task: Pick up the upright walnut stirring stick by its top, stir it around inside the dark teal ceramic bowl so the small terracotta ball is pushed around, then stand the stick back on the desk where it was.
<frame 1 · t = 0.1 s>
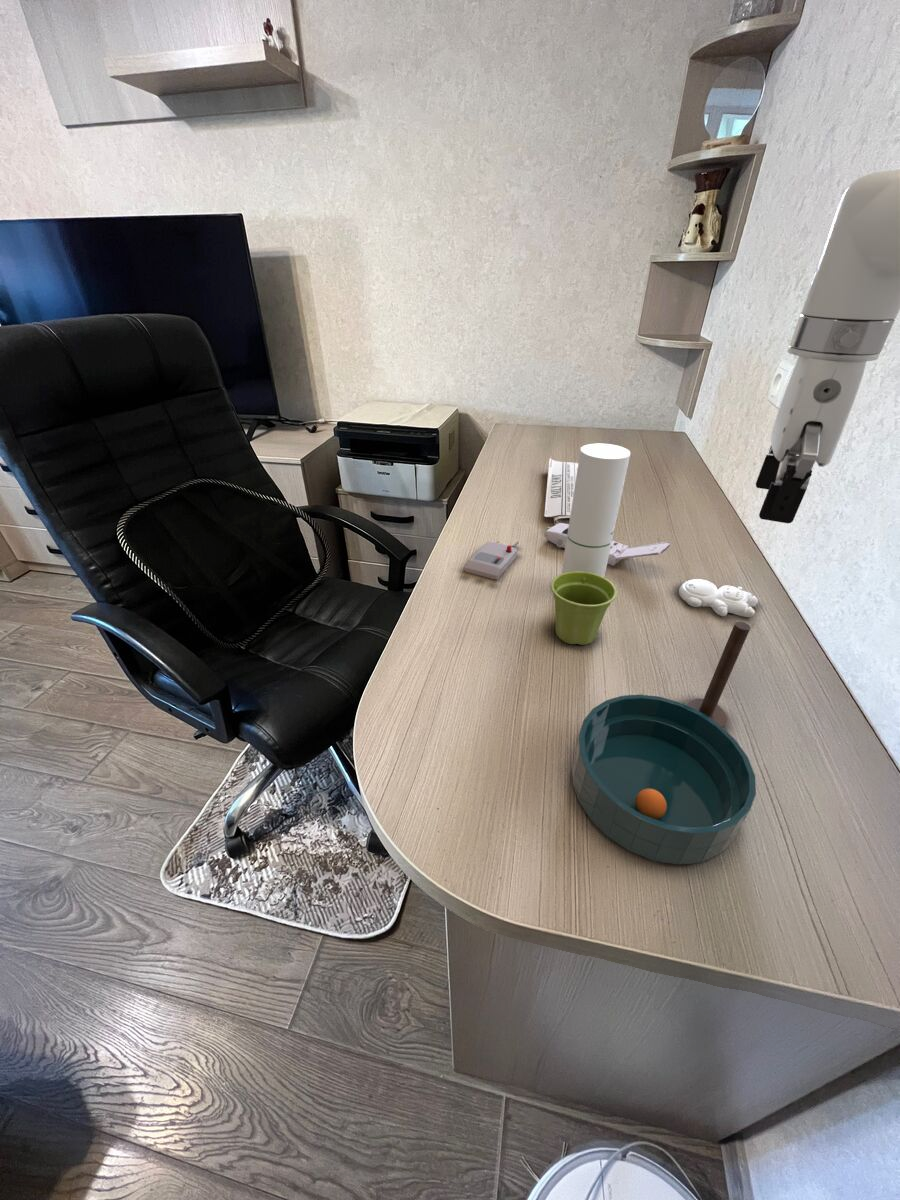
hand: (771, 503, 58), 25 cm above the table, tool pointing down, fingers open, 9 cm apart
white toy figurine: (716, 602, 86), on the table
stirring stick: (703, 716, 64), on the table
mobile phone: (596, 554, 99), on the table
plant pot: (574, 634, 78), on the table
bowl: (650, 789, 55), on the table
newspaper: (568, 497, 123), on the table
cylindrical container: (579, 592, 88), on the table
ball: (650, 804, 52), point 2 cm above the table, touching bowl
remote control: (493, 562, 97), on the table
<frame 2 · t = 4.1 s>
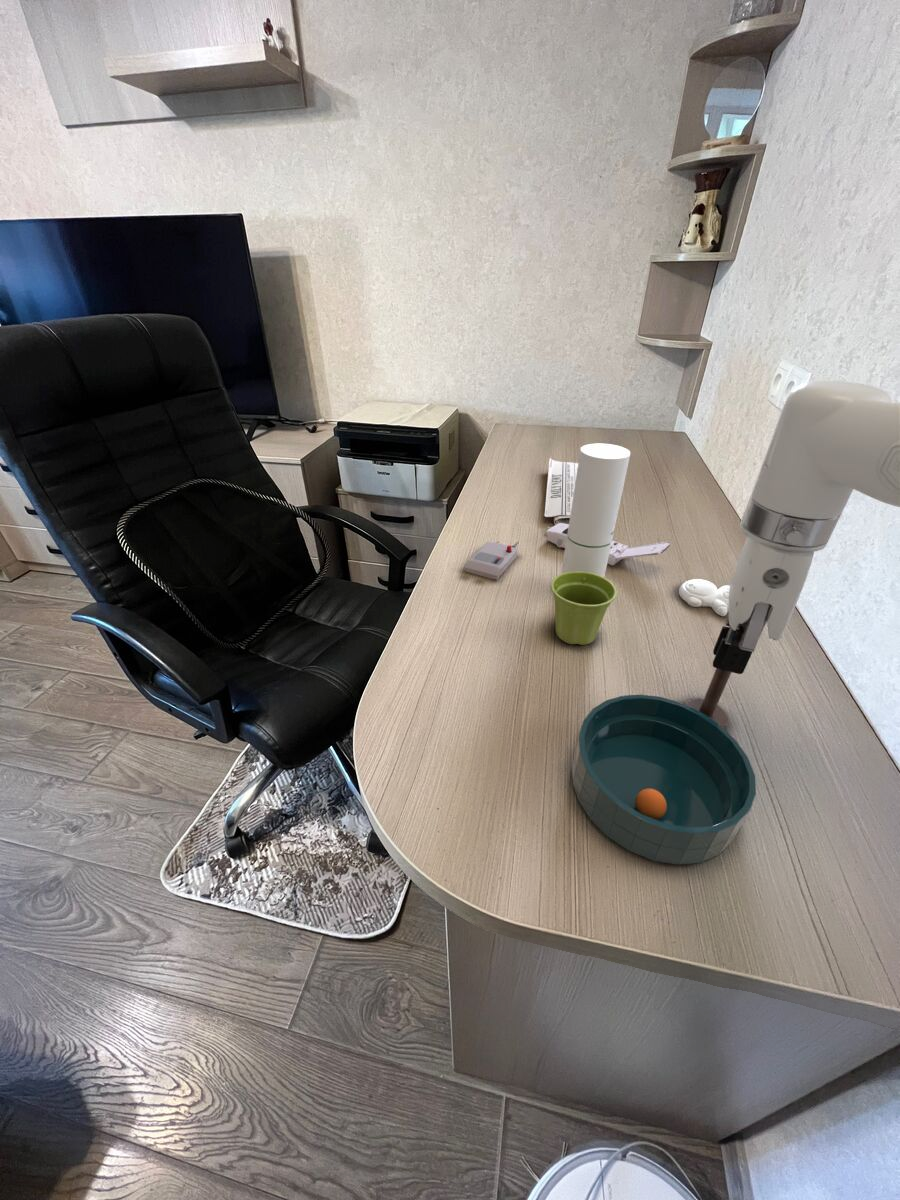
hand: (727, 662, 59), 9 cm above the table, tool pointing down, fingers closed on stirring stick
stirring stick: (704, 716, 64), on the table, touching gripper
everything else where it was.
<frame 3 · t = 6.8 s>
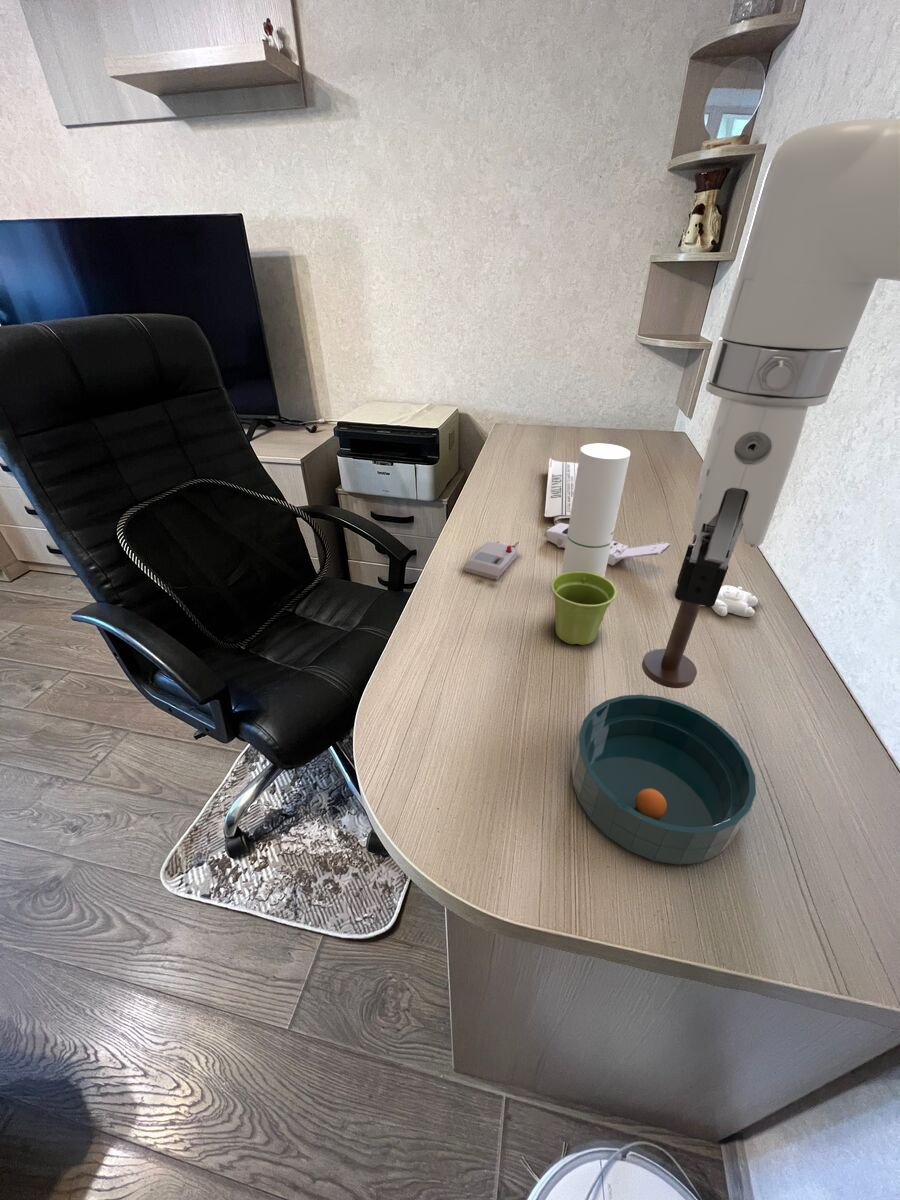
hand: (694, 593, 45), 24 cm above the table, tool pointing down, fingers closed on stirring stick
stirring stick: (667, 670, 50), point 15 cm above the table, touching gripper
everything else where it was.
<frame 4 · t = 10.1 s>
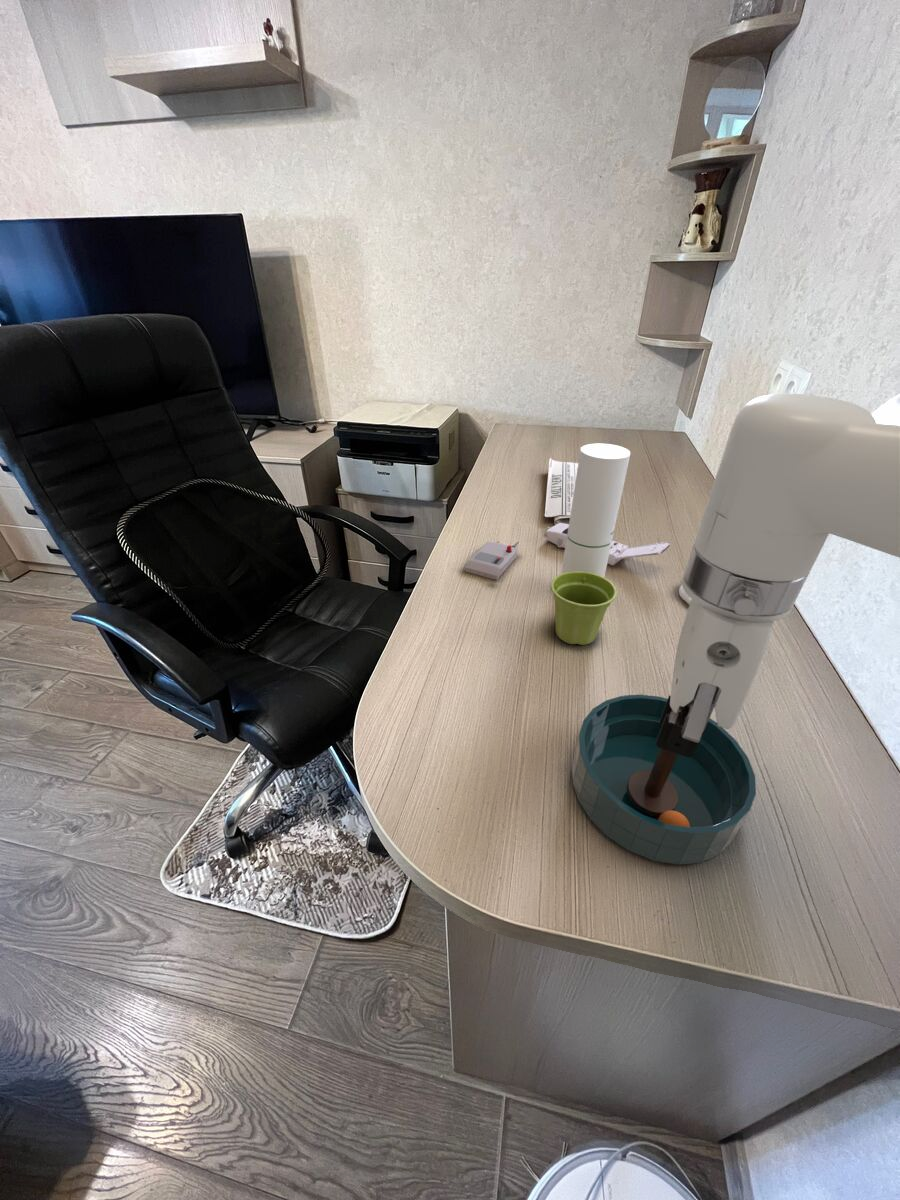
hand: (674, 739, 47), 11 cm above the table, tool pointing down, fingers closed on stirring stick
stirring stick: (651, 794, 53), point 2 cm above the table, touching ball, gripper
ball: (673, 826, 49), point 2 cm above the table, tilted 106°, touching bowl, stirring stick
everything else where it was.
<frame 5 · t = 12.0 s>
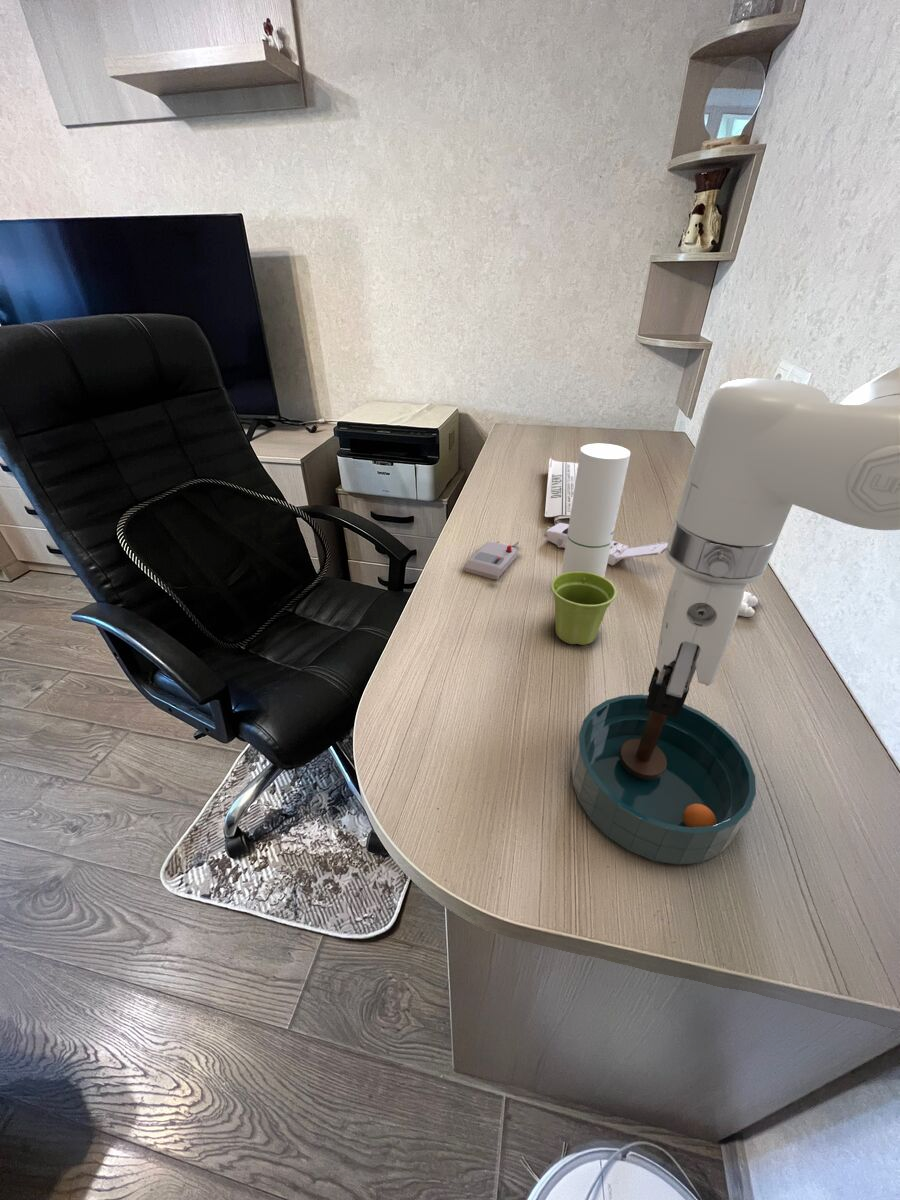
hand: (662, 702, 51), 11 cm above the table, tool pointing down, fingers closed on stirring stick
stirring stick: (641, 760, 57), point 2 cm above the table, touching gripper
ball: (699, 819, 50), point 2 cm above the table, tilted 44°, touching bowl
everything else where it was.
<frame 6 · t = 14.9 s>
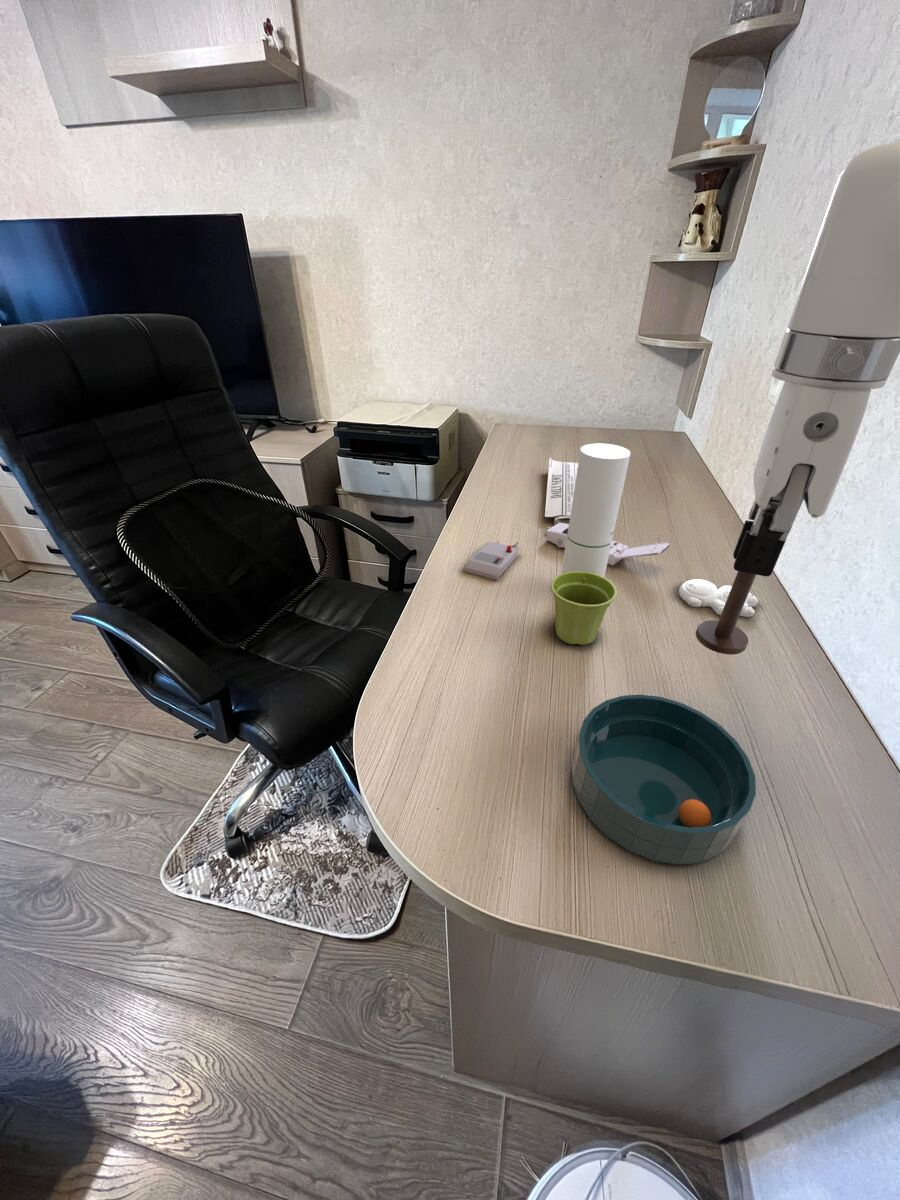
hand: (750, 565, 49), 24 cm above the table, tool pointing down, fingers closed on stirring stick
stirring stick: (720, 639, 54), point 15 cm above the table, touching gripper
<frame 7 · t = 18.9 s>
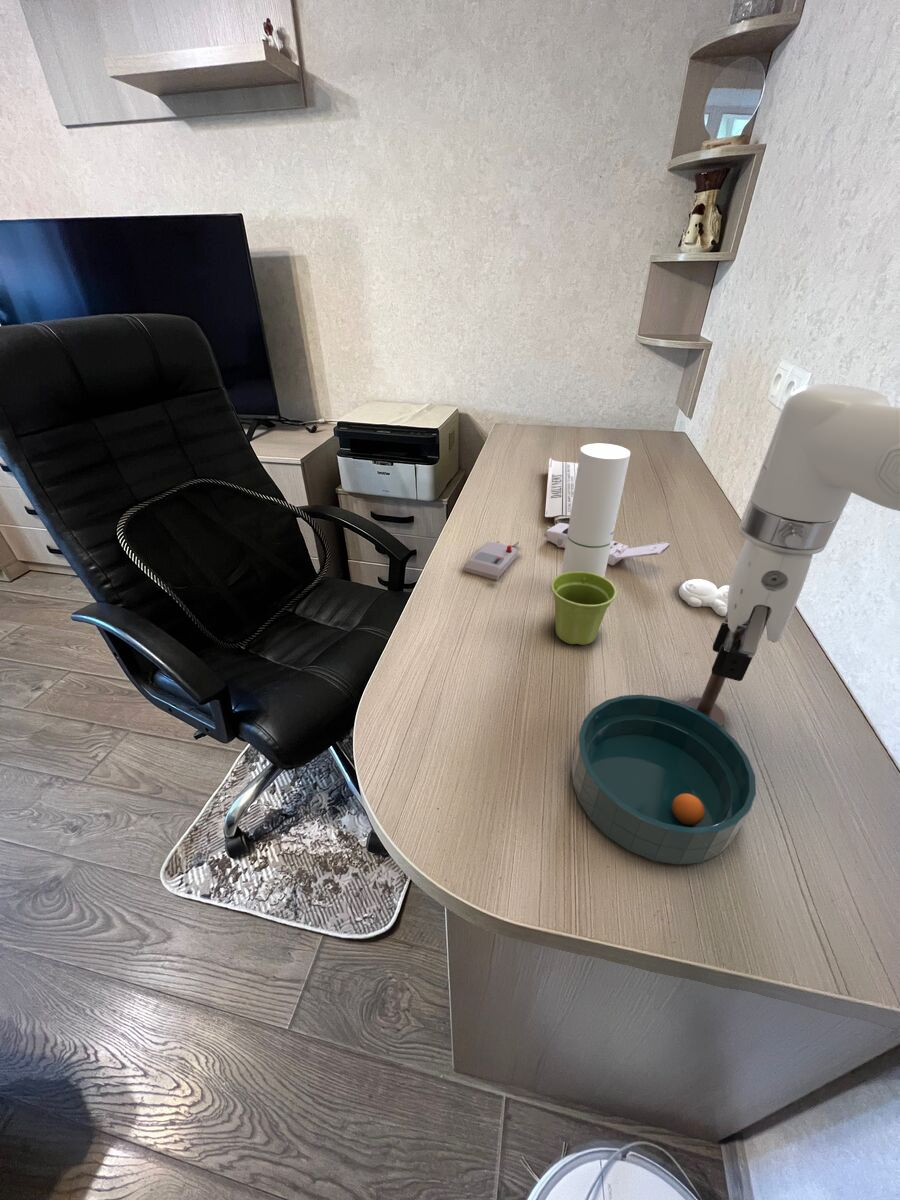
hand: (726, 663, 59), 9 cm above the table, tool pointing down, fingers open, 3 cm apart
stirring stick: (701, 715, 64), on the table
ball: (687, 809, 51), point 2 cm above the table, tilted 51°, touching bowl
everything else where it was.
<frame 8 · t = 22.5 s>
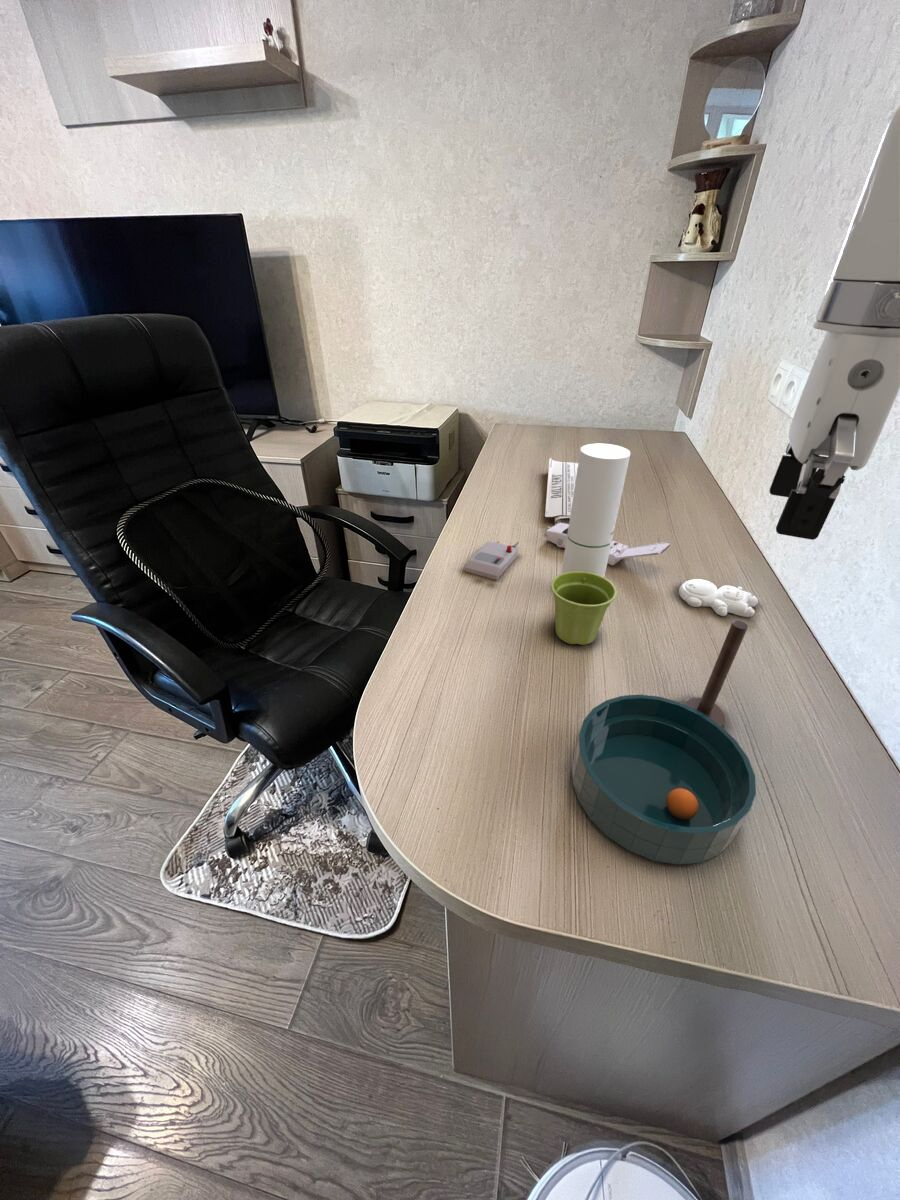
hand: (790, 514, 48), 28 cm above the table, tool pointing down, fingers open, 9 cm apart
ball: (682, 803, 52), point 2 cm above the table, tilted 69°, touching bowl
everything else where it was.
at the end: ball moved 3.2 cm from its start; stirring stick 0.3 cm from the target spot, on the table; stirring stick tilted 0° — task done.
